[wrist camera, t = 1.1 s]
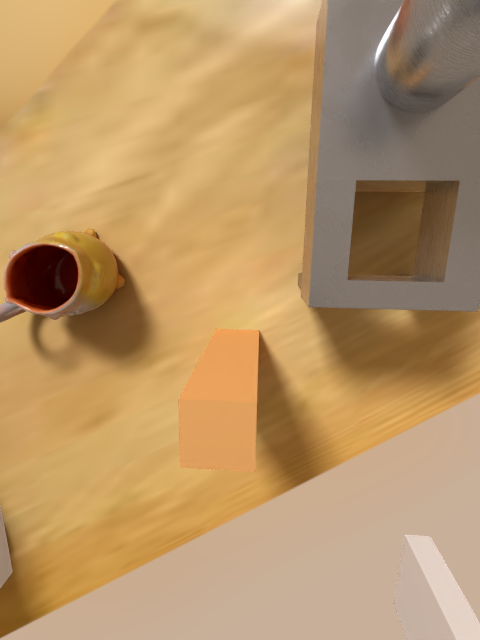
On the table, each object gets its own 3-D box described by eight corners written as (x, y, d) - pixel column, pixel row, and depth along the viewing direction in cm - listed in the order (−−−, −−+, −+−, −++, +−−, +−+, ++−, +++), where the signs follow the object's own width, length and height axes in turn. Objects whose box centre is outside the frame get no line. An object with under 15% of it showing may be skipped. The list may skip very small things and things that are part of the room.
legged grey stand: (305, 66, 25) (379, -227, 9) (441, 64, 24) (759, -255, 9) (294, 287, 29) (332, 339, 13) (410, 290, 28) (593, 348, 13)
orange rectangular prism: (216, 369, 31) (180, 467, 17) (215, 329, 30) (178, 399, 17) (257, 371, 31) (255, 471, 17) (259, 330, 30) (256, 402, 16)
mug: (101, 218, 29) (53, 209, 22) (138, 288, 30) (104, 299, 23) (-6, 277, 31) (-78, 285, 24) (34, 341, 32) (-25, 365, 25)
